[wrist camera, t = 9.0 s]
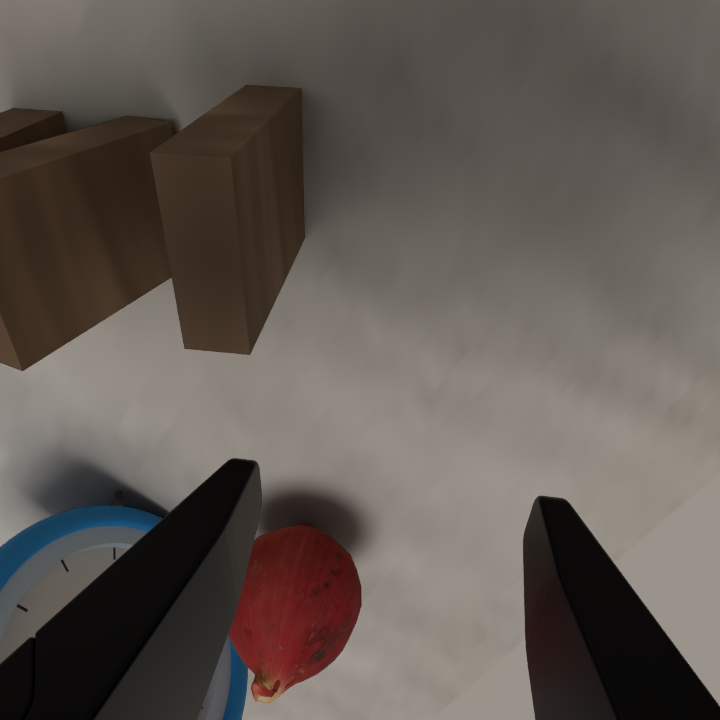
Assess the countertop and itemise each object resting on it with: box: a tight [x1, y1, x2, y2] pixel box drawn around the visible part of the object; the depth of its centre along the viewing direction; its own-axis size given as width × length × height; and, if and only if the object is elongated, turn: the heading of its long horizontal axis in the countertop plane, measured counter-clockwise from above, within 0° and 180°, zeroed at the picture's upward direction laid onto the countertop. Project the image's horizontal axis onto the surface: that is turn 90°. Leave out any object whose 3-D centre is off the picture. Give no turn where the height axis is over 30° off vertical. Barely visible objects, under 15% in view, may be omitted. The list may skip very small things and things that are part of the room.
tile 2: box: [0, 116, 173, 371], centre depth 16 cm, size 2×5×7 cm, turn 178°
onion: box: [228, 524, 361, 703], centre depth 25 cm, size 6×6×8 cm
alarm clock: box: [0, 491, 248, 720], centre depth 24 cm, size 13×6×15 cm, turn 43°
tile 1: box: [150, 85, 305, 355], centre depth 15 cm, size 2×5×7 cm, turn 178°
